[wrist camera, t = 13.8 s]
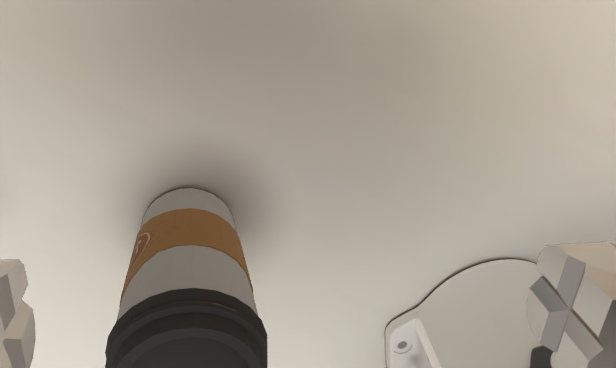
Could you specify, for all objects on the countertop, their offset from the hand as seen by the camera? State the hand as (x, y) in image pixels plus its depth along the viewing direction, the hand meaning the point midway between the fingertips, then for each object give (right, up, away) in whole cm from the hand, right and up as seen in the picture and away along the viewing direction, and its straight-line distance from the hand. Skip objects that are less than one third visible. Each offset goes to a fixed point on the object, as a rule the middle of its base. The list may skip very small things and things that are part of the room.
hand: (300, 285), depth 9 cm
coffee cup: (-8, -1, +32) cm, 34 cm away
